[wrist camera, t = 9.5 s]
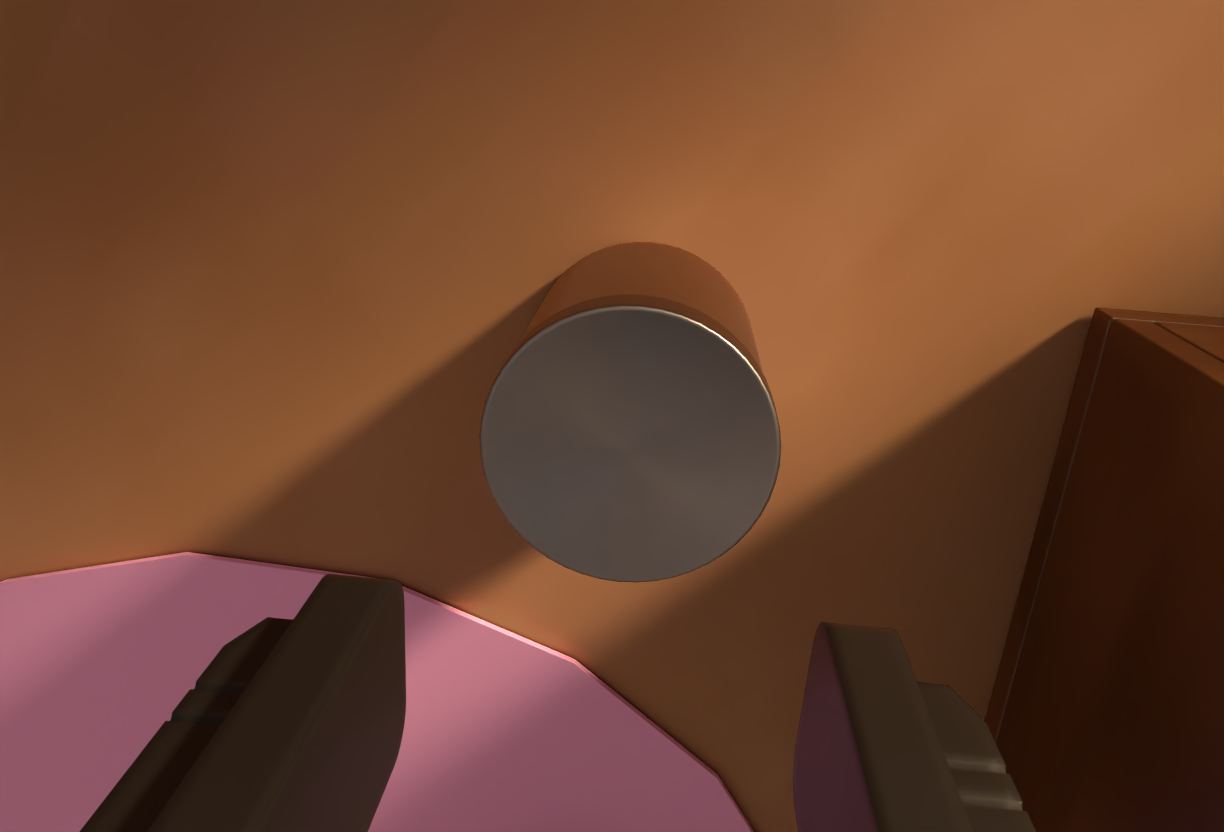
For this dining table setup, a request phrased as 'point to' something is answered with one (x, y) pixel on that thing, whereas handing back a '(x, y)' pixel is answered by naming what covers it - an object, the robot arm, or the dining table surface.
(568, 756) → the platter
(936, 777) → the robot arm
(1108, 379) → the cabinet
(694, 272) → the tin
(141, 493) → the dining table surface
